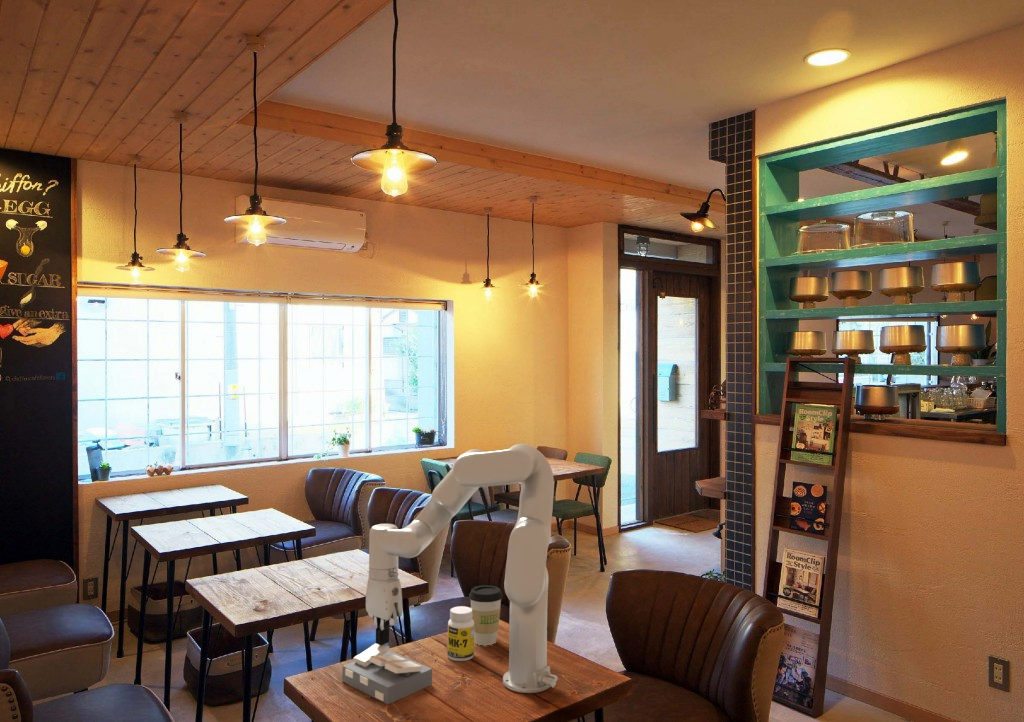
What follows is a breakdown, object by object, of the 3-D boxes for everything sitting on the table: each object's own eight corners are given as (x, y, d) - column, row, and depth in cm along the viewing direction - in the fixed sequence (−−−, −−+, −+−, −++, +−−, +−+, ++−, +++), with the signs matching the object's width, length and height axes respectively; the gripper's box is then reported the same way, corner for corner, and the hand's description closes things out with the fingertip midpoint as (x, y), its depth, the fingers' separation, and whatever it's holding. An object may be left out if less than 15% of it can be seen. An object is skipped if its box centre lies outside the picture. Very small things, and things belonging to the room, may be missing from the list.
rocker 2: (404, 664, 180) (405, 658, 180) (380, 666, 174) (381, 660, 174) (393, 659, 183) (394, 654, 183) (369, 661, 177) (370, 655, 177)
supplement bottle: (443, 660, 193) (444, 612, 193) (451, 650, 200) (452, 604, 200) (469, 663, 191) (470, 615, 191) (477, 652, 198) (477, 606, 198)
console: (432, 684, 178) (432, 664, 178) (387, 704, 167) (387, 683, 167) (386, 664, 190) (386, 645, 190) (341, 682, 179) (341, 662, 179)
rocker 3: (420, 671, 176) (421, 665, 176) (396, 673, 170) (397, 667, 171) (408, 666, 179) (410, 660, 179) (384, 668, 173) (385, 662, 173)
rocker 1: (389, 650, 184) (388, 645, 184) (365, 667, 178) (364, 662, 178) (379, 645, 187) (378, 641, 187) (354, 662, 181) (353, 657, 181)
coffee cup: (498, 650, 200) (498, 596, 200) (464, 647, 202) (464, 594, 202) (505, 636, 210) (505, 585, 210) (473, 634, 211) (473, 583, 212)
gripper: (413, 575, 183) (412, 646, 183) (377, 564, 193) (375, 631, 193) (390, 582, 178) (389, 655, 177) (354, 569, 187) (353, 639, 187)
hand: (382, 642), depth 185 cm, fingers closed
